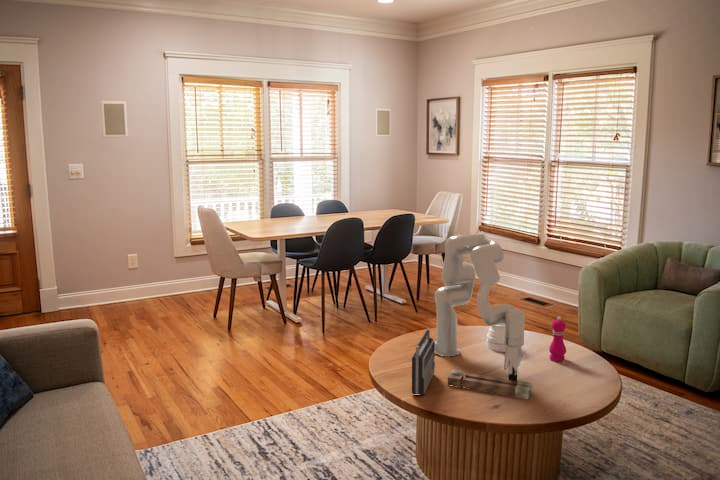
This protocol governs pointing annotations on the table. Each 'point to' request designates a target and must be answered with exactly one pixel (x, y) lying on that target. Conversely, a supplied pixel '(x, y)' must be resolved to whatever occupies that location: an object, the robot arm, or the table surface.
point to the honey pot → (496, 338)
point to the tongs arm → (499, 380)
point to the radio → (423, 364)
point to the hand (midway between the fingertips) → (512, 384)
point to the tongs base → (488, 385)
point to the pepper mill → (558, 341)
